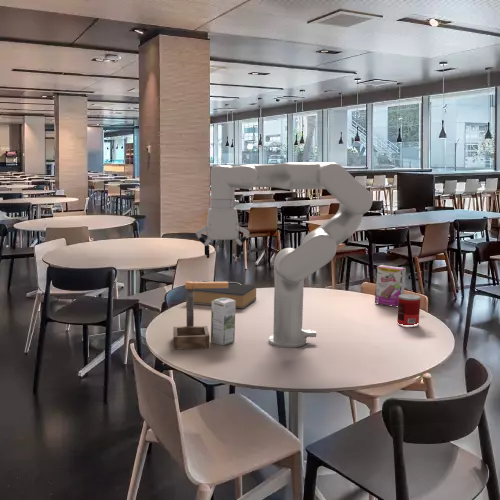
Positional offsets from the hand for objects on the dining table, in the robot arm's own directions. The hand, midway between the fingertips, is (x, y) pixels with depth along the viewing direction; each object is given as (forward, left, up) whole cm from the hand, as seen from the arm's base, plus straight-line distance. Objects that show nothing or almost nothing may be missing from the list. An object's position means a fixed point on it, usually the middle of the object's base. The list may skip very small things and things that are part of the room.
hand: (222, 257), depth 186 cm
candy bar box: (-75, -43, -29) cm, 91 cm away
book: (-5, -54, -29) cm, 62 cm away
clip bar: (+5, -9, -12) cm, 16 cm away
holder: (+10, -3, -29) cm, 31 cm away
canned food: (-71, -14, -29) cm, 78 cm away
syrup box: (0, 0, -29) cm, 29 cm away
